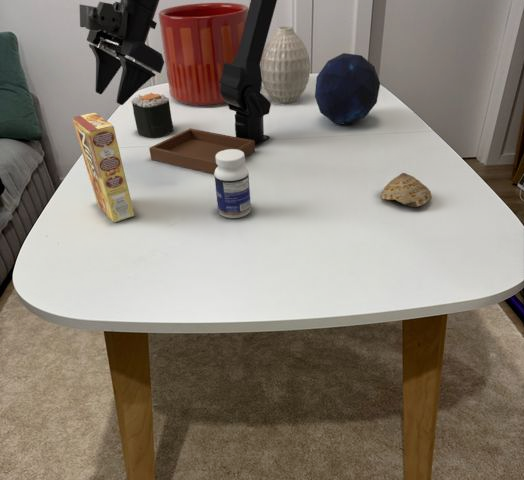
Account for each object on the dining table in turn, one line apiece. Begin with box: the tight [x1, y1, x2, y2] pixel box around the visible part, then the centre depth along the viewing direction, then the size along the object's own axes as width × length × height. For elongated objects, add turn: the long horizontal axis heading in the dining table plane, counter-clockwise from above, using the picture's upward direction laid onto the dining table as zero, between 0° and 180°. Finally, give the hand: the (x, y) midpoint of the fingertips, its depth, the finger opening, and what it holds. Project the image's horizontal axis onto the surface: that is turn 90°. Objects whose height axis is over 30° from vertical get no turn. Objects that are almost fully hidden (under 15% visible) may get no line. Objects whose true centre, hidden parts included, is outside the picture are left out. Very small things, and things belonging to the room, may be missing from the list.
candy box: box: [72, 112, 135, 223], centre depth 85 cm, size 9×4×15 cm, turn 33°
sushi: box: [130, 92, 174, 139], centre depth 118 cm, size 8×8×8 cm
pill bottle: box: [213, 149, 252, 219], centre depth 85 cm, size 6×6×10 cm
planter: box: [158, 2, 249, 107], centre depth 135 cm, size 23×23×20 cm
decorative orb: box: [314, 52, 381, 126], centre depth 116 cm, size 14×15×15 cm
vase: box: [260, 25, 311, 104], centre depth 130 cm, size 13×13×17 cm
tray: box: [148, 127, 256, 175], centre depth 107 cm, size 14×18×2 cm
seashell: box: [380, 172, 433, 208], centre depth 88 cm, size 8×6×8 cm
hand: (108, 98), depth 91 cm, fingers open, 9 cm apart
